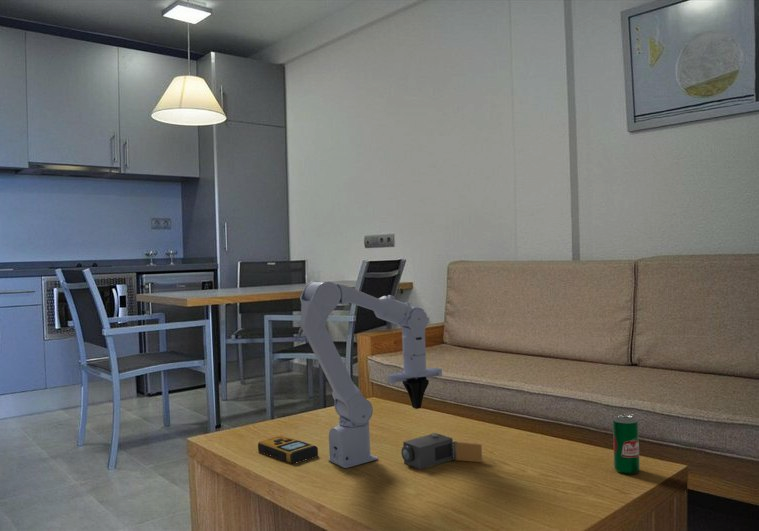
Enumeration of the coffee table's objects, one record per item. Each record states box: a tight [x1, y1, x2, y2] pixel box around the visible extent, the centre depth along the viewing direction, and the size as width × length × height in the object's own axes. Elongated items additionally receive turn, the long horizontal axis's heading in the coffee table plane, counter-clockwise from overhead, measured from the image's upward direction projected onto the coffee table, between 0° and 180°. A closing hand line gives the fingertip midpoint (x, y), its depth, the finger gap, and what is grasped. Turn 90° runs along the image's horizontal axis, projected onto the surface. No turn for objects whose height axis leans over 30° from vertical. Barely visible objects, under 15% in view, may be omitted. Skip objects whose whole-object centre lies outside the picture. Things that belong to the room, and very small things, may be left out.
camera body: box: [400, 432, 454, 471], centre depth 144 cm, size 11×6×6 cm, turn 126°
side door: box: [453, 440, 483, 463], centre depth 144 cm, size 7×1×4 cm, turn 69°
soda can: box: [612, 412, 641, 475], centre depth 133 cm, size 5×5×12 cm
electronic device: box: [257, 435, 319, 464], centre depth 155 cm, size 8×16×3 cm, turn 43°
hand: (416, 407), depth 156 cm, fingers closed
